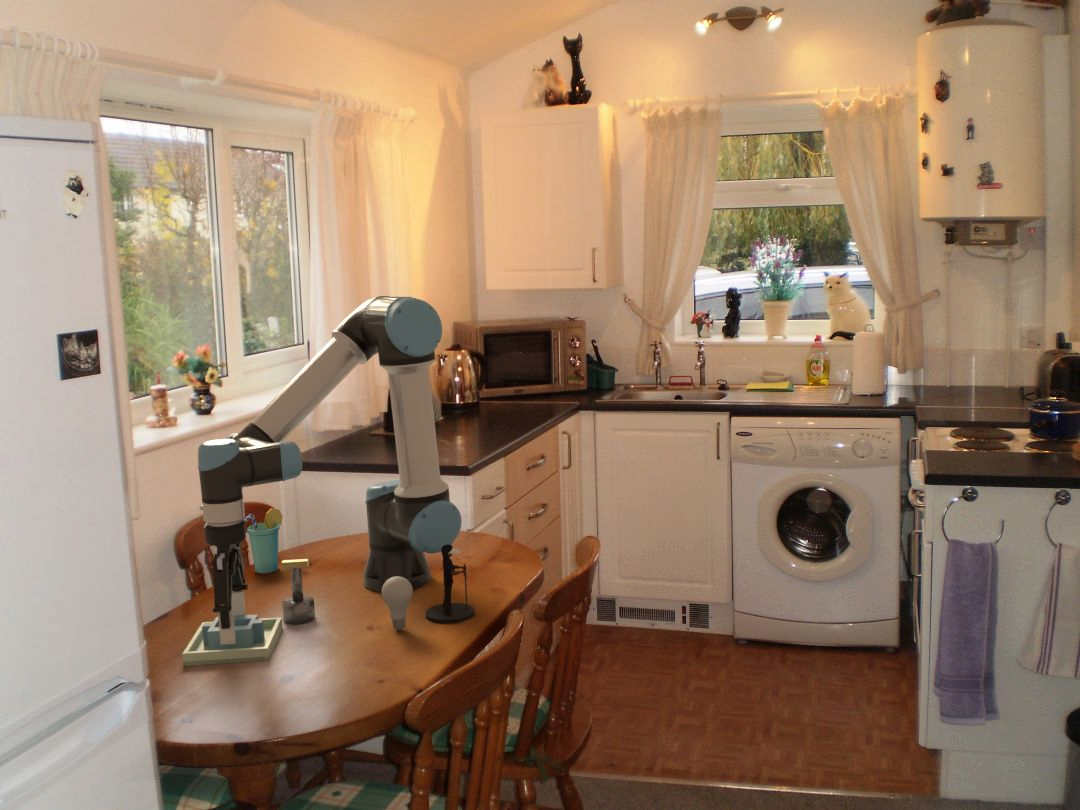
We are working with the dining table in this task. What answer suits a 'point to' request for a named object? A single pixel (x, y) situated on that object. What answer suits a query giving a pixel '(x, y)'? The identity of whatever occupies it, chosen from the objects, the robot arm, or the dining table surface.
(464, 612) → the figurine
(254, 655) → the tray
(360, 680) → the dining table surface
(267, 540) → the cup
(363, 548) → the dining table surface
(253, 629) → the slotted blue block
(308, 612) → the grey stamp
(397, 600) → the lightbulb
